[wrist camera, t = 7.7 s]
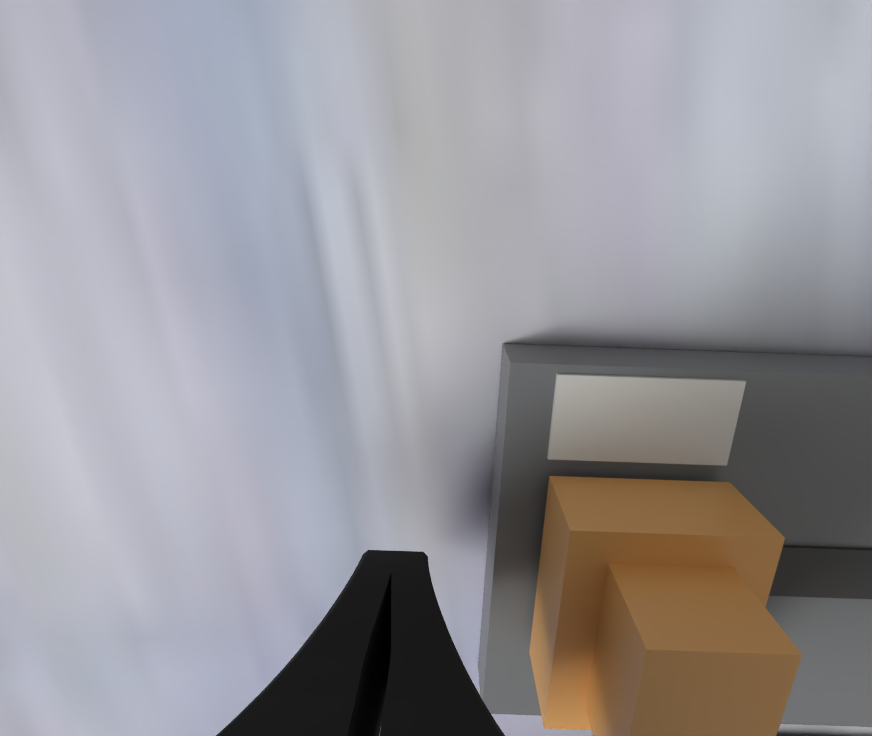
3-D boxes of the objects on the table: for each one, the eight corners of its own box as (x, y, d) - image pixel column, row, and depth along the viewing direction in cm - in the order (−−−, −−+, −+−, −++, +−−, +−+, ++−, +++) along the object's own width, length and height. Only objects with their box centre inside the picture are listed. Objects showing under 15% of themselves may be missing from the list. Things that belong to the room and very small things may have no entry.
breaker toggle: (529, 652, 13) (564, 835, 10) (549, 475, 12) (600, 611, 8) (688, 657, 13) (786, 842, 10) (729, 482, 12) (867, 620, 8)
